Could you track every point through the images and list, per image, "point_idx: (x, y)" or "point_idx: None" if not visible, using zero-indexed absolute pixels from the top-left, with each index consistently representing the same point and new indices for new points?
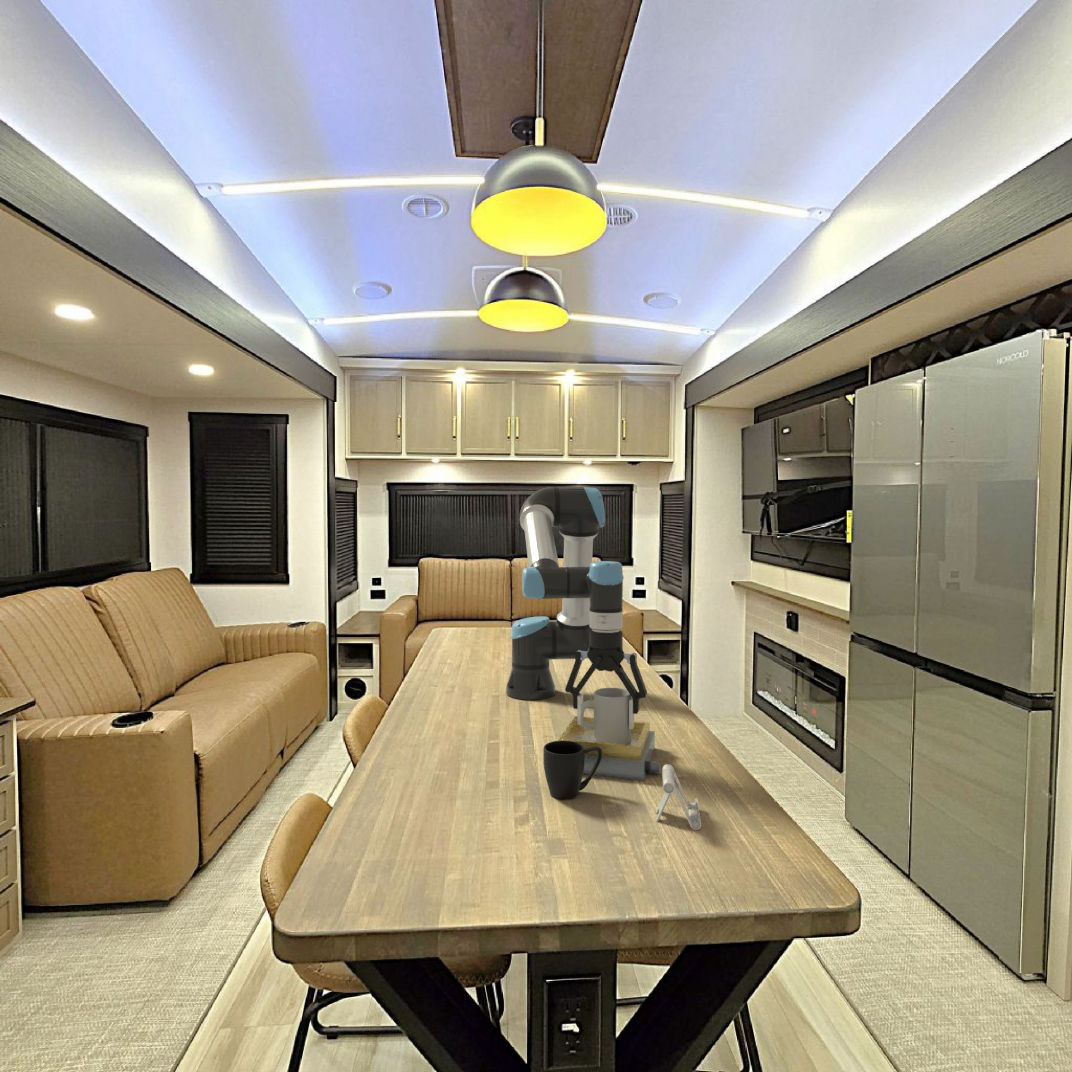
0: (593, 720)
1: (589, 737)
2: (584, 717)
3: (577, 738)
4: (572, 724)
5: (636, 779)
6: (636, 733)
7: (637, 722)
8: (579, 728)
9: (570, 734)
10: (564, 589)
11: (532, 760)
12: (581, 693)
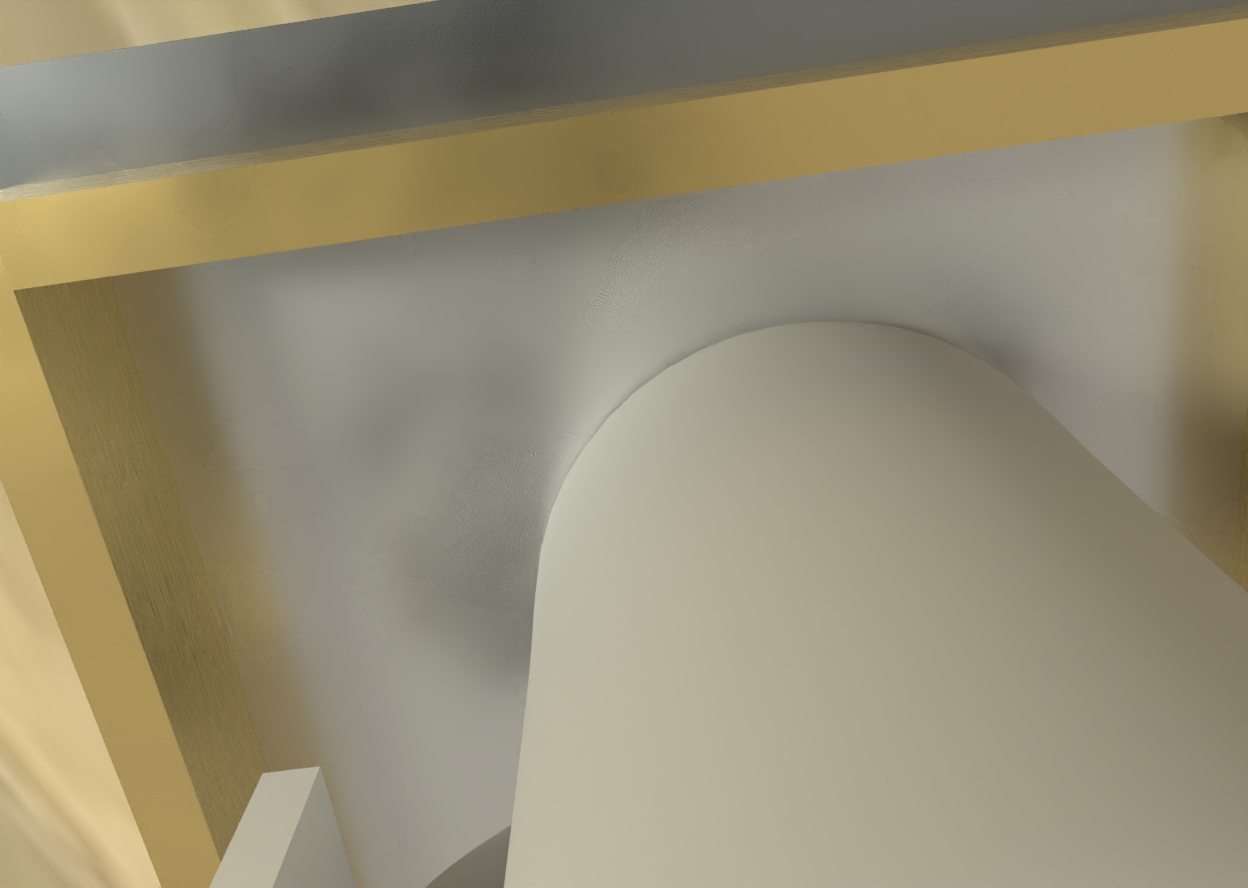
0: (325, 242)
1: (475, 616)
2: (106, 226)
3: (342, 712)
4: (130, 673)
5: None
6: (1127, 156)
7: (1234, 82)
8: (151, 313)
9: (246, 799)
10: None
11: (33, 834)
12: None
